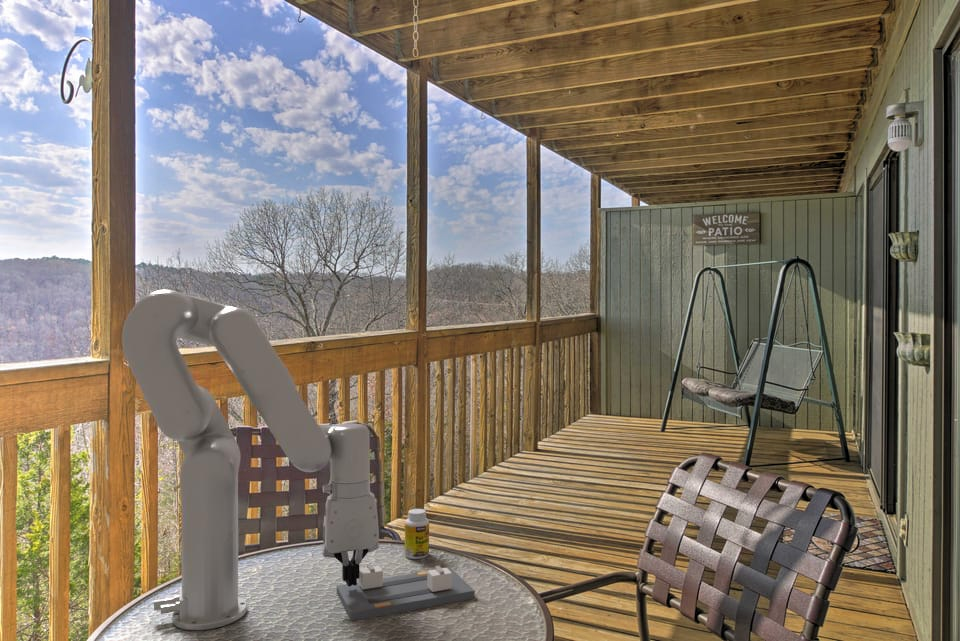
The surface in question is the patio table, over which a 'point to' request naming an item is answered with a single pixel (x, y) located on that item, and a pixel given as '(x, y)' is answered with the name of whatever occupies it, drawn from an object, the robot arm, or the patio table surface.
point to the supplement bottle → (416, 534)
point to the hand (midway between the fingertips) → (350, 583)
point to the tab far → (370, 577)
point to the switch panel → (400, 595)
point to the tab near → (439, 579)
